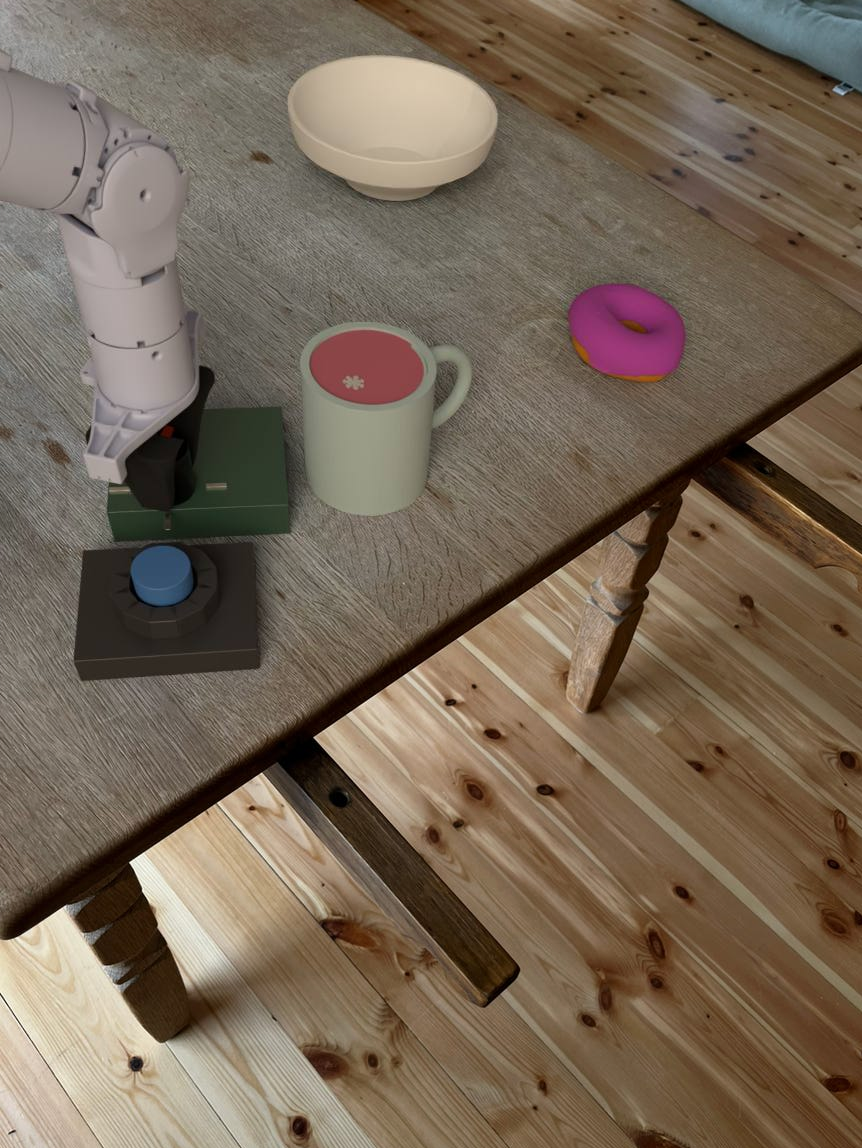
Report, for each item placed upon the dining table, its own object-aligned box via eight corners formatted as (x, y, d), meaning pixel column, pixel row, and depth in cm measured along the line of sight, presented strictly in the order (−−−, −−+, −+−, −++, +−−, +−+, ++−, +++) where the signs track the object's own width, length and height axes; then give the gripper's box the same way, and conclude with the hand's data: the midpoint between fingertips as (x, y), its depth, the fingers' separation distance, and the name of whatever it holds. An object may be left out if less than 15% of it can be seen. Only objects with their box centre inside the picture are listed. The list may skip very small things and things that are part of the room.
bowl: (253, 154, 102) (247, 80, 97) (416, 109, 111) (420, 39, 105) (361, 258, 94) (362, 183, 88) (530, 202, 102) (540, 130, 97)
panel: (113, 563, 71) (104, 532, 68) (121, 441, 78) (113, 409, 75) (291, 554, 73) (289, 523, 70) (284, 436, 80) (281, 404, 77)
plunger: (134, 608, 64) (129, 591, 63) (136, 564, 67) (131, 546, 65) (193, 605, 65) (190, 587, 64) (194, 561, 67) (190, 543, 66)
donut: (674, 402, 87) (689, 358, 83) (554, 379, 87) (563, 334, 83) (681, 327, 93) (694, 283, 89) (569, 306, 93) (578, 261, 89)
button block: (80, 681, 65) (66, 644, 62) (89, 571, 70) (77, 531, 67) (259, 669, 67) (255, 632, 64) (255, 562, 72) (251, 523, 69)
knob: (184, 511, 70) (176, 468, 67) (133, 500, 70) (122, 456, 67) (203, 475, 72) (195, 431, 69) (153, 464, 73) (143, 420, 69)
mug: (347, 533, 75) (347, 428, 67) (282, 454, 79) (274, 346, 71) (499, 465, 80) (516, 361, 72) (431, 394, 84) (440, 288, 76)
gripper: (117, 234, 65) (151, 403, 76) (10, 383, 56) (67, 549, 67) (227, 257, 64) (245, 422, 75) (137, 409, 56) (173, 571, 67)
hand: (168, 483), depth 71 cm, fingers closed on knob, 4 cm apart
